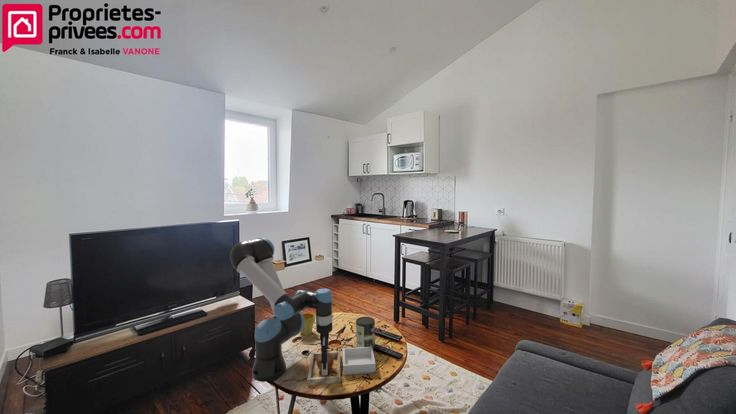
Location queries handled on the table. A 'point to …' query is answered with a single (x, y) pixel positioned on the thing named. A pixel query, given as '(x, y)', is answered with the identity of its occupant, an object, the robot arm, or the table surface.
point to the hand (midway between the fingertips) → (325, 368)
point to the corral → (323, 379)
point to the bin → (358, 361)
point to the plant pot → (308, 323)
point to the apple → (329, 360)
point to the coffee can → (365, 332)
